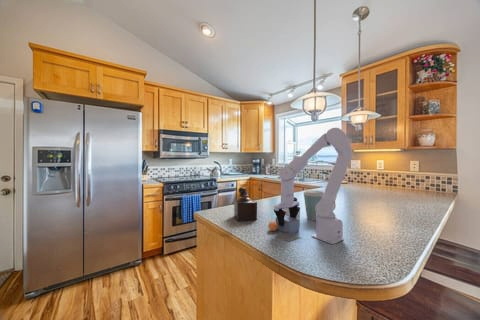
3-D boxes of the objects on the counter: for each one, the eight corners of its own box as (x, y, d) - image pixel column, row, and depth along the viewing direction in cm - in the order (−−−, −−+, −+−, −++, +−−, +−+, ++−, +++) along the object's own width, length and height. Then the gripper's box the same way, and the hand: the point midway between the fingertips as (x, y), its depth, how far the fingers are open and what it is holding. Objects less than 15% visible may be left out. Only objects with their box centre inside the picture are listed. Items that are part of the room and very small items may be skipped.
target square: (299, 237, 82) (299, 237, 82) (288, 241, 78) (288, 241, 78) (286, 232, 88) (286, 231, 88) (275, 236, 84) (275, 235, 84)
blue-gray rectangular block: (299, 231, 89) (299, 219, 89) (290, 234, 86) (290, 222, 86) (284, 225, 96) (284, 215, 96) (275, 228, 93) (275, 217, 93)
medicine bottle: (299, 222, 101) (300, 198, 100) (285, 222, 101) (285, 198, 101) (296, 218, 108) (296, 195, 108) (282, 218, 108) (282, 195, 108)
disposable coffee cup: (300, 219, 106) (300, 190, 106) (306, 214, 115) (306, 188, 114) (321, 223, 100) (321, 193, 99) (326, 217, 108) (326, 190, 108)
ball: (279, 231, 89) (279, 222, 89) (272, 233, 87) (272, 223, 87) (272, 228, 93) (272, 219, 93) (266, 230, 90) (266, 221, 90)
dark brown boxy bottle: (232, 215, 112) (232, 183, 112) (251, 214, 115) (251, 183, 115) (239, 225, 97) (239, 188, 97) (260, 223, 100) (260, 187, 100)
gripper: (291, 191, 98) (290, 218, 98) (269, 194, 90) (269, 224, 90) (303, 193, 92) (302, 222, 93) (281, 197, 84) (280, 229, 84)
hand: (287, 223), depth 91 cm, fingers open, 7 cm apart
